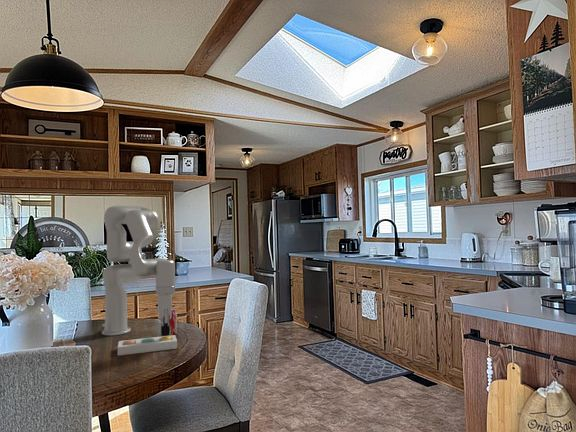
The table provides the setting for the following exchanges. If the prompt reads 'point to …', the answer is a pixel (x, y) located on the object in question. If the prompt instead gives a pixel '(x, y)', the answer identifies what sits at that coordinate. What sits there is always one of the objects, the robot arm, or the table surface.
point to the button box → (147, 345)
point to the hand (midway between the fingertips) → (165, 335)
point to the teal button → (147, 340)
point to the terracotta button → (129, 342)
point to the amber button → (165, 338)
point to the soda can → (173, 322)
